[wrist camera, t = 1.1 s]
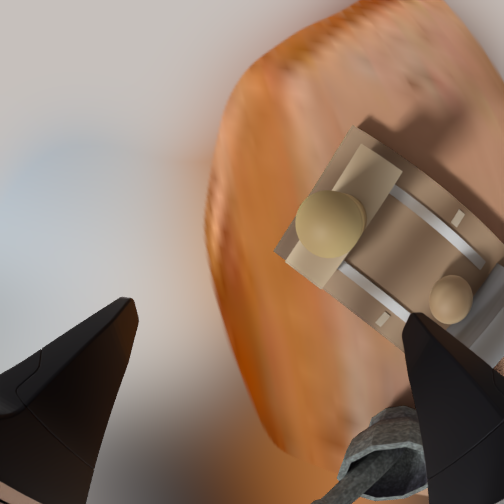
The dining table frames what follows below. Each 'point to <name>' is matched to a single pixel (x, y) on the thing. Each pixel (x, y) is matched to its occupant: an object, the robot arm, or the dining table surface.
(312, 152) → the dining table surface
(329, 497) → the mortar and pestle
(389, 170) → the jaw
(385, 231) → the base
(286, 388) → the dining table surface
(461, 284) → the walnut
